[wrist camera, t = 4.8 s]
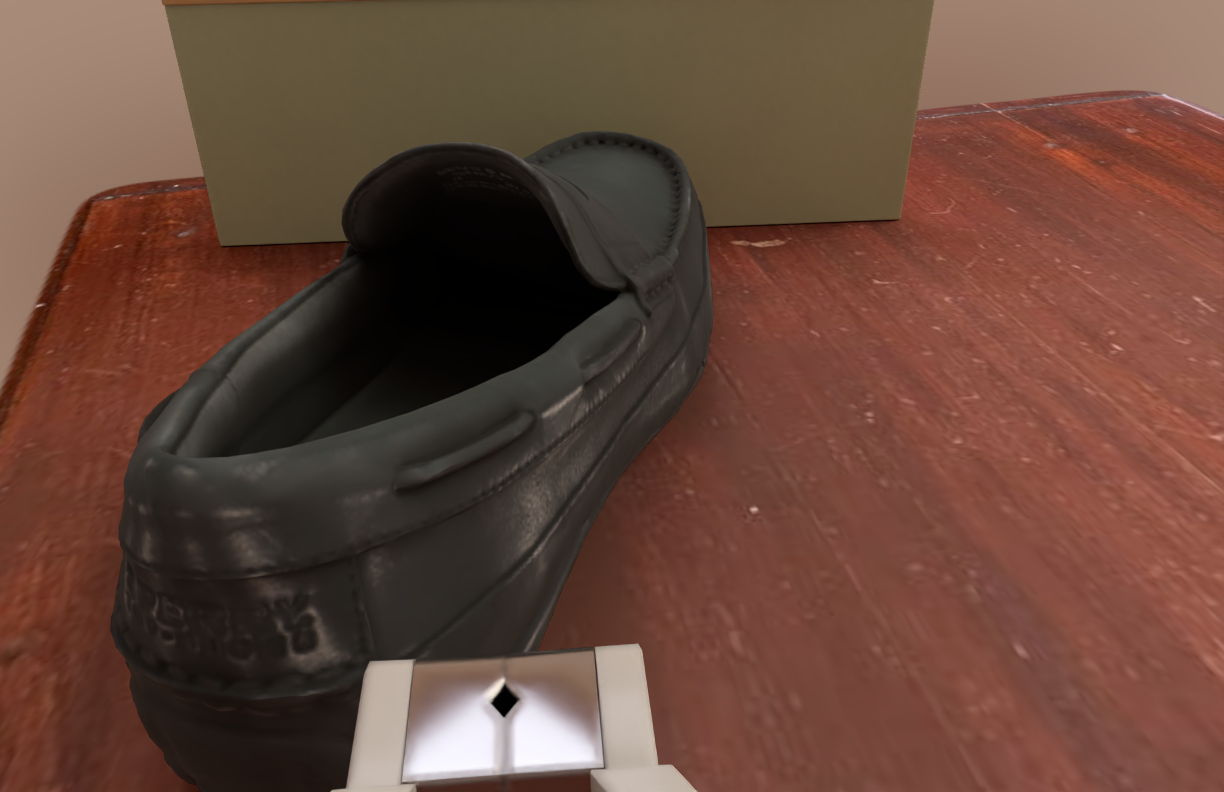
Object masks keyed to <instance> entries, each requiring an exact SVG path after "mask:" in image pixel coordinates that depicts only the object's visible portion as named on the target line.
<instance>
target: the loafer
mask: <svg viewBox="0 0 1224 792" xmlns="http://www.w3.org/2000/svg"><path fill="white" fill-rule="evenodd" d="M341 225H342V228H343V232H344V235H345V237H346V239H347V240H348V242H349V244H348V246H347V247H346V249H345V252H344V254H343V257H342V259H341V263H340V265H339V266H338V267H336V268H335V269H333V270H332V271H331V272H329V273H327V274H326V275H324V276H322V277H321V278H319V279H318V280H316V281H314V282H313V283H311V284H310V285H309V286H307V287H305V288H304V289H302V290H301V291H299V292H298V293H297V294H295V295H294V296H292V297H291V298H290V299H289V300H287V301H286V302H285V303H283V304H282V305H280V306H279V307H277V308H276V309H275V310H273V311H272V312H271V313H269V314H268V315H267V316H265V317H264V318H262V319H261V320H259V321H258V322H257V323H255V324H254V325H252V326H251V327H250V328H248V329H247V330H245V331H244V332H243V333H241V334H240V335H238V336H237V337H235V338H234V339H233V340H231V341H230V342H229V343H227V344H226V345H225V346H223V347H222V348H221V349H220V350H219V351H218V352H217V353H216V354H215V355H214V356H213V357H212V358H211V359H210V360H209V361H207V362H206V363H205V364H204V365H203V366H202V367H200V368H199V369H198V370H196V371H195V372H193V373H192V374H191V375H190V377H189V379H188V381H187V382H186V383H185V384H184V385H183V386H182V387H181V388H180V389H178V390H177V391H175V392H173V393H172V394H170V395H169V396H168V397H166V398H165V399H164V400H163V401H162V402H160V403H159V404H158V405H157V406H156V407H155V408H154V409H153V410H152V412H151V413H150V414H149V415H148V416H147V417H146V418H145V420H144V422H143V424H142V426H141V428H140V431H139V436H138V441H137V442H138V445H137V447H136V449H135V451H134V453H133V455H132V457H131V459H130V462H129V465H128V468H127V472H126V475H125V479H124V493H125V498H124V504H123V510H122V517H121V521H120V524H119V541H120V545H121V548H122V549H123V560H122V563H121V569H120V575H119V580H118V585H117V589H116V599H115V605H114V611H113V614H112V616H111V629H110V630H111V633H112V636H113V638H114V641H115V644H116V648H117V649H118V650H119V651H120V652H121V654H122V655H123V656H124V657H125V658H126V664H127V666H128V668H129V670H130V671H131V675H132V676H131V679H130V689H131V693H132V697H133V701H134V703H135V705H136V708H137V711H138V715H139V717H140V719H141V721H142V723H143V725H144V727H145V729H146V731H147V733H148V734H149V737H150V738H151V739H152V740H153V741H154V742H155V744H156V745H157V746H158V747H159V748H160V749H161V750H162V751H163V752H164V759H165V760H166V762H167V764H168V765H169V766H170V767H171V768H172V769H173V771H174V772H175V773H176V774H177V775H178V776H179V777H180V778H182V779H184V780H185V781H186V782H188V783H190V784H194V785H197V787H198V789H199V790H200V792H331V791H332V790H336V789H346V785H347V779H348V773H349V766H350V760H351V754H352V747H353V741H354V735H355V728H356V722H357V716H358V709H359V703H360V697H361V690H362V684H363V678H364V673H365V671H366V669H367V666H368V664H369V662H370V661H389V660H411V659H417V658H441V657H464V656H487V655H505V654H508V653H520V652H533V651H537V650H538V647H539V645H540V643H541V640H542V638H543V636H544V633H545V631H546V628H547V626H548V623H549V621H550V619H551V617H552V614H553V611H554V608H555V606H556V603H557V601H558V598H559V596H560V593H561V591H562V589H563V586H564V584H565V582H566V580H567V578H568V576H569V574H570V572H571V569H572V567H573V565H574V563H575V560H576V558H577V556H578V554H579V551H580V549H581V547H582V544H583V542H584V540H585V538H586V536H587V534H588V532H589V530H590V528H591V526H592V524H593V522H594V521H595V519H596V517H597V515H598V514H599V512H600V510H601V508H602V506H603V504H604V503H605V501H606V499H607V497H608V495H609V493H610V492H611V490H612V489H613V487H614V485H615V484H616V482H617V480H618V479H619V478H620V476H621V475H622V474H623V473H624V472H625V470H626V469H627V468H628V467H629V465H630V464H631V462H632V461H633V460H634V458H635V457H636V456H637V455H638V454H639V453H640V452H641V451H642V450H643V449H644V448H645V446H646V445H647V444H648V443H649V442H650V441H651V440H652V438H654V437H655V436H656V435H657V434H658V432H659V431H660V430H661V429H662V428H663V427H664V426H665V425H666V424H667V423H668V422H669V421H670V420H671V418H672V417H673V416H674V415H675V414H676V413H677V411H678V410H679V409H680V407H681V405H682V404H683V402H684V401H685V400H686V398H687V397H688V396H689V394H690V393H691V392H692V390H693V389H694V388H695V386H696V385H697V383H698V381H699V380H700V378H701V377H702V374H703V371H704V367H705V365H706V362H707V356H708V350H709V343H710V335H711V331H712V323H713V297H712V284H711V271H710V258H709V250H708V241H707V230H706V223H705V218H704V214H703V210H702V205H701V203H700V201H699V200H698V197H697V193H696V191H695V188H694V186H693V184H692V181H691V178H690V176H689V174H688V171H687V168H686V166H685V164H684V162H683V161H682V159H681V158H680V157H678V155H677V154H676V153H675V152H674V151H673V150H672V149H670V148H668V147H666V146H664V145H662V144H660V143H657V142H655V141H652V140H650V139H647V138H643V137H639V136H635V135H631V134H627V133H619V132H607V131H593V132H580V133H577V134H574V135H572V136H570V137H566V138H562V139H560V140H557V141H555V142H553V143H551V144H549V145H547V146H544V147H542V148H541V149H539V150H538V151H536V152H534V153H533V154H531V155H529V156H527V157H525V158H524V159H520V158H519V157H517V156H516V155H514V154H513V153H511V152H509V151H506V150H504V149H500V148H497V147H493V146H490V145H485V144H479V143H472V142H446V143H436V144H426V145H422V146H417V147H414V148H411V149H408V150H405V151H403V152H401V153H399V154H396V155H394V156H393V157H391V158H389V159H388V160H386V161H385V162H383V163H382V164H380V165H378V166H377V167H375V168H374V169H372V170H371V171H370V172H369V173H368V174H367V175H366V176H365V177H364V178H363V179H362V180H361V181H360V182H359V183H358V184H357V185H356V187H355V188H354V189H353V190H352V192H351V193H350V195H349V196H348V198H347V200H346V202H345V205H344V207H343V209H342V221H341Z"/></svg>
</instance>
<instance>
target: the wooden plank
mask: <svg viewBox="0 0 1224 792" xmlns="http://www.w3.org/2000/svg"><path fill="white" fill-rule="evenodd" d="M162 4H163V5H165V10H166V14H167V18H168V22H169V27H170V31H171V35H172V40H173V44H174V48H175V52H176V57H177V61H178V66H179V70H180V74H181V78H182V83H183V87H184V91H185V96H186V100H187V104H188V109H189V113H190V117H191V121H192V126H193V130H194V134H195V139H196V143H197V147H198V152H199V156H200V160H201V165H202V169H203V173H204V178H205V182H206V186H207V190H208V195H209V199H210V203H211V208H212V212H213V216H214V221H215V225H216V229H217V234H218V238H219V242H220V245H221V246H236V245H261V244H286V243H312V242H337V241H348V240H347V239H346V237H345V235H344V232H343V228H342V225H341V221H342V209H343V207H344V205H345V202H346V200H347V198H348V196H349V195H350V193H351V192H352V190H353V189H354V188H355V187H356V185H357V184H358V183H359V182H360V181H361V180H362V179H363V178H364V177H365V176H366V175H367V174H368V173H369V172H370V171H371V170H372V169H374V168H375V167H377V166H378V165H380V164H382V163H383V162H385V161H386V160H388V159H389V158H391V157H393V156H394V155H396V154H399V153H401V152H403V151H405V150H408V149H411V148H414V147H417V146H422V145H426V144H436V143H446V142H472V143H479V144H485V145H490V146H493V147H497V148H500V149H504V150H506V151H509V152H511V153H513V154H514V155H516V156H517V157H519V158H520V159H524V158H525V157H527V156H529V155H531V154H533V153H534V152H536V151H538V150H539V149H541V148H542V147H544V146H547V145H549V144H551V143H553V142H555V141H557V140H560V139H562V138H566V137H570V136H572V135H574V134H577V133H580V132H593V131H607V132H619V133H627V134H631V135H635V136H639V137H643V138H647V139H650V140H652V141H655V142H657V143H660V144H662V145H664V146H666V147H668V148H670V149H672V150H673V151H674V152H675V153H676V154H677V155H678V157H680V158H681V159H682V161H683V162H684V164H685V166H686V168H687V171H688V174H689V176H690V178H691V181H692V184H693V186H694V188H695V191H696V193H697V197H698V200H699V201H700V203H701V205H702V210H703V214H704V218H705V223H706V227H716V226H741V225H767V224H792V223H817V222H843V221H868V220H893V219H900V216H901V209H902V203H903V197H904V190H905V184H906V177H907V171H908V165H909V158H910V152H911V145H912V139H913V133H914V126H915V120H916V114H917V107H918V101H919V94H920V88H921V82H922V75H923V69H924V62H925V56H926V50H927V43H928V37H929V30H930V24H931V17H932V11H933V5H934V0H162Z"/></svg>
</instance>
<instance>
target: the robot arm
mask: <svg viewBox="0 0 1224 792" xmlns="http://www.w3.org/2000/svg"><path fill="white" fill-rule="evenodd" d="M331 792H697V791H696V790H695V789H694V788H693V787H692V785H691V784H690V783H689V782H688V781H687V780H686V779H685V778H684V777H683V776H682V775H681V774H680V773H679V772H678V771H677V770H676V769H675V767H674V766H673V765H658V759H657V752H656V745H655V738H654V731H653V724H652V717H651V710H650V703H649V696H648V689H647V682H646V675H645V668H644V661H643V654H642V650H641V648H640V646H639V645H638V644H627V645H614V646H600V647H595V648H594V650H593V647H584V648H571V649H559V650H546V651H533V652H520V653H508V654H505V655H487V656H464V657H441V658H417V659H411V660H389V661H370V662H369V664H368V666H367V669H366V671H365V673H364V678H363V684H362V690H361V697H360V703H359V709H358V716H357V722H356V728H355V735H354V741H353V747H352V754H351V760H350V766H349V773H348V779H347V785H346V789H336V790H332V791H331Z"/></svg>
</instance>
